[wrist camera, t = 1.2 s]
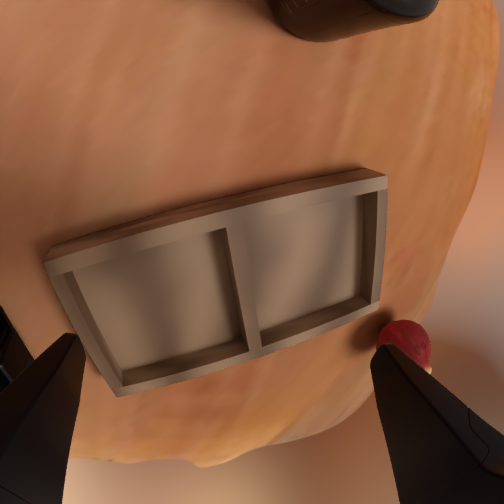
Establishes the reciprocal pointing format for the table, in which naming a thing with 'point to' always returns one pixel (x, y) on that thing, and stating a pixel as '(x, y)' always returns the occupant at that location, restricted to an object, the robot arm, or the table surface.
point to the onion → (408, 341)
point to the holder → (224, 278)
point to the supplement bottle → (346, 16)
